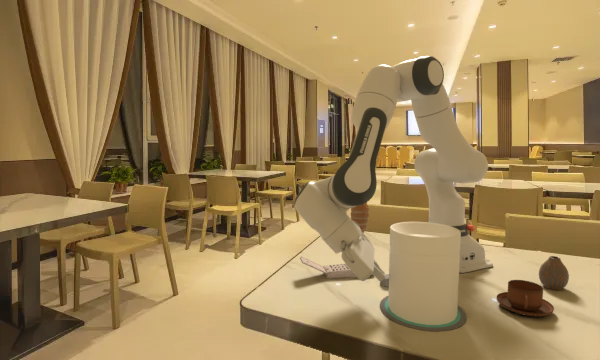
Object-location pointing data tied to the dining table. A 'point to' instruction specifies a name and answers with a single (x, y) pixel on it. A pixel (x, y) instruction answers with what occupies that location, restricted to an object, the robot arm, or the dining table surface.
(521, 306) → the cup and saucer
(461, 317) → the charging mat
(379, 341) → the dining table surface
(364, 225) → the brown ribbed oblong piece
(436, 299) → the canister
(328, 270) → the mobile phone
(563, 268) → the vase
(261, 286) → the dining table surface
